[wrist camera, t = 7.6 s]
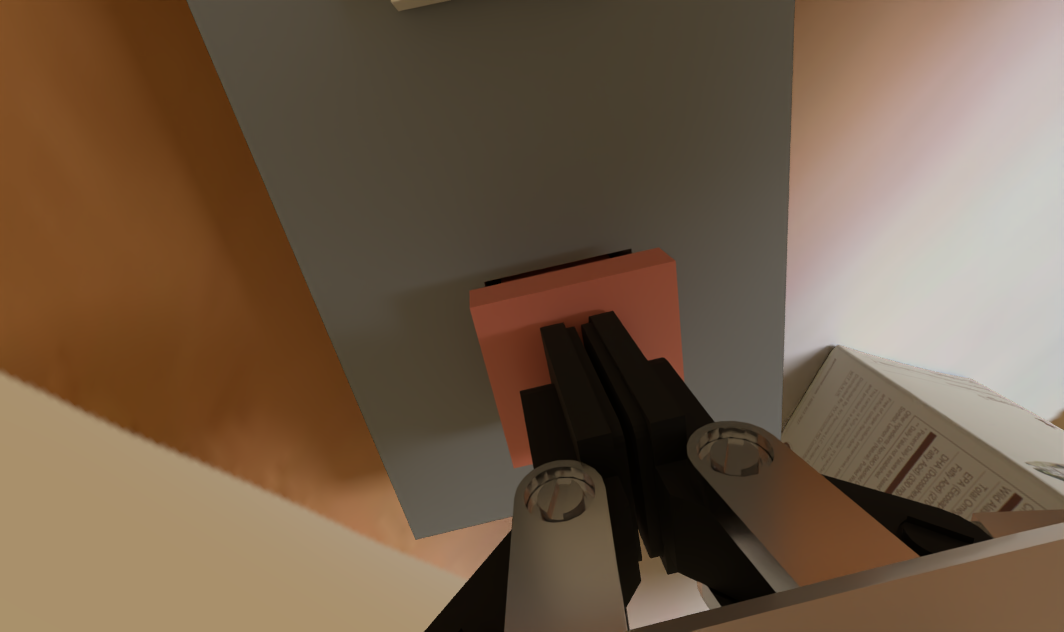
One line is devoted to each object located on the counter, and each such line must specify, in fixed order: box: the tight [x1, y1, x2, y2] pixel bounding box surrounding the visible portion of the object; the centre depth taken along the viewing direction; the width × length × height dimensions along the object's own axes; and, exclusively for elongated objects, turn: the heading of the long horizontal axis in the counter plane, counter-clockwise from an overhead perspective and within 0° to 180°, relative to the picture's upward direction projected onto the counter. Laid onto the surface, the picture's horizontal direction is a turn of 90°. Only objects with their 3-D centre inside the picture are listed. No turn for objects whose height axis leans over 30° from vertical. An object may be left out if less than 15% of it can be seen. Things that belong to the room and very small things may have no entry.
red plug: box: [469, 247, 684, 468], centre depth 13 cm, size 4×4×4 cm
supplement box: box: [781, 345, 1064, 521], centre depth 16 cm, size 7×7×13 cm
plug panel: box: [187, 0, 795, 540], centre depth 13 cm, size 12×22×4 cm, turn 11°
